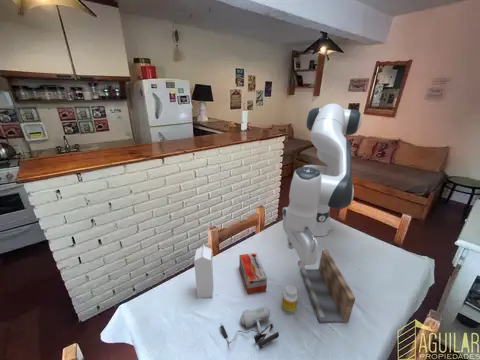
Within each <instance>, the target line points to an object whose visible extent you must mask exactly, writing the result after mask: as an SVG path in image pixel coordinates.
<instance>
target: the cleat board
mask: <svg viewBox="0 0 480 360" xmlns="http://www.w3.org/2000/svg"><path fill="white" fill-rule="evenodd" d="M299 272H300V275H301V278H302V280H303V281H302V282H303V284H304V286H305V289H306V291H307V294H308V297H309V300H310V302H311V305H312V307H313V310H314V314H315V315H316V316H315V317H316V318H317V321H318V323H319V324H334V323H337V324H338V323H339V324H340V323H349V321H350V317H351V315H352V312H353V308H354V305H355V300H356V297H355V295H354V293H353V291H352V290H351V288H350V285H348V283H347V280H346V279H345V277H344V276H343V275H342V273H341V270H339V267H338V266H337V265H336V262H335V261H334V259H333V257H332V255H331V254H330V251H328V249H322V250H321V255H320V261H319V266H318V268H314V269H313V268H311V269H310V268H308V269H306V268H299Z"/></svg>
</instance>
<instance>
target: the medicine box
mask: <svg viewBox="0 0 480 360" xmlns="http://www.w3.org/2000/svg"><path fill="white" fill-rule="evenodd" d="M238 257H239V260H238V261H239V262H238V263H239V265H238V266H239V267H238V268H239V272H240V275H241V276H240V277H241V279H242V281H243V285H244V288H245V291H246V295H247V296H250V295H253V294H257V293H263V292H264V293H265V292H267V285H268V284H267V283H268V276H267V274H266V271H265V270H264V266H263V265H262V262H261V260H260V257H259V255H258V254H257V252H252V253H251V252H250V253H245V254H239V256H238Z"/></svg>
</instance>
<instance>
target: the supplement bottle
mask: <svg viewBox="0 0 480 360" xmlns="http://www.w3.org/2000/svg"><path fill="white" fill-rule="evenodd" d="M298 299H299V296H298V292H297V288H296V287H295V286H294V285H291V284H289V285H287V286H286V287H285V289H284V290H283V292H282V300H281V310H282V311H283V312H284V313H285V314H288V315H292V314H294V313H295V312H296V310H297V304H298Z"/></svg>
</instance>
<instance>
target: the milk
mask: <svg viewBox="0 0 480 360" xmlns="http://www.w3.org/2000/svg"><path fill="white" fill-rule="evenodd" d="M202 245H203V246H201V247H199V248H197V249H195V256H194V260H193V261H194V262H193V263H194V274H195V275H194V276H195V287H196V288H195V289H196V298H197V299H208V298H209V299H212V298H213V295H214V294H213V293H214V269H213V250H212V248H210V247H207V246H205V243H203V244H202Z"/></svg>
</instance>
